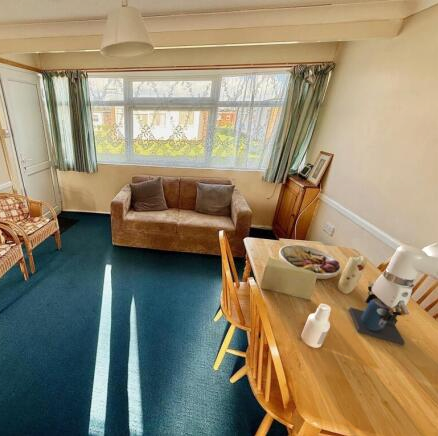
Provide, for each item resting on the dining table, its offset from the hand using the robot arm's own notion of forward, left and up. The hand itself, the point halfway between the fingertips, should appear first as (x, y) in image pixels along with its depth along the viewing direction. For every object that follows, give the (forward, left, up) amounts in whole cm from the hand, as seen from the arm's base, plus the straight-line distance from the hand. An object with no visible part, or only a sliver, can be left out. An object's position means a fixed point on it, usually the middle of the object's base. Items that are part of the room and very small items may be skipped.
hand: (378, 311), depth 92 cm
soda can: (0, 0, -8) cm, 8 cm away
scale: (-2, -2, -9) cm, 10 cm away
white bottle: (+23, +17, -10) cm, 31 cm away
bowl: (+18, -40, -10) cm, 44 cm away
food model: (+3, -24, -10) cm, 26 cm away
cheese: (+31, -10, -10) cm, 34 cm away
